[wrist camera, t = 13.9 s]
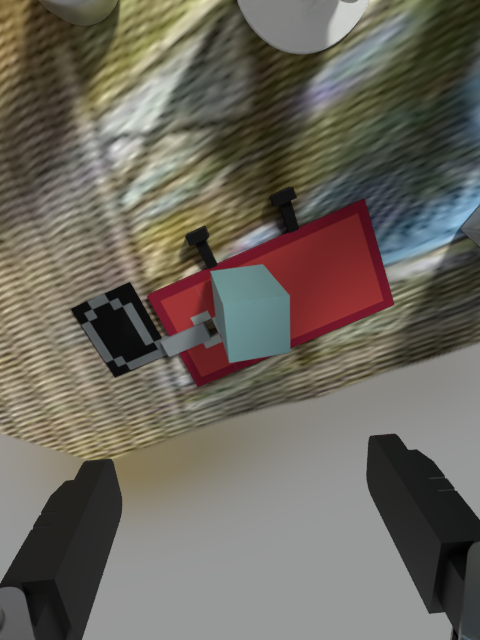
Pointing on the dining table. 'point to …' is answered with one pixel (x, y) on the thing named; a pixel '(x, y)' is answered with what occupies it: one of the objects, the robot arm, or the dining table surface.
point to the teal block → (251, 312)
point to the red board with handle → (276, 255)
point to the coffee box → (473, 227)
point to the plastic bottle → (80, 10)
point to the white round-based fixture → (302, 22)
